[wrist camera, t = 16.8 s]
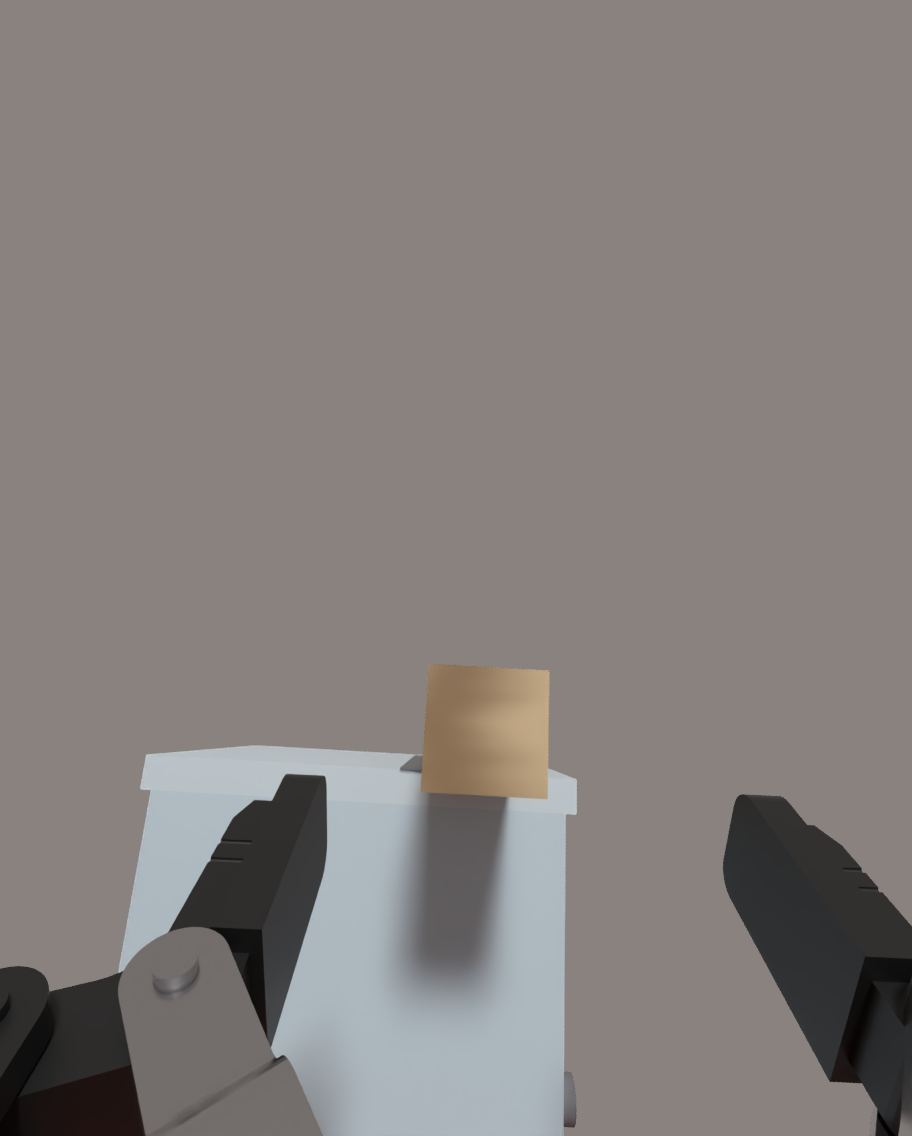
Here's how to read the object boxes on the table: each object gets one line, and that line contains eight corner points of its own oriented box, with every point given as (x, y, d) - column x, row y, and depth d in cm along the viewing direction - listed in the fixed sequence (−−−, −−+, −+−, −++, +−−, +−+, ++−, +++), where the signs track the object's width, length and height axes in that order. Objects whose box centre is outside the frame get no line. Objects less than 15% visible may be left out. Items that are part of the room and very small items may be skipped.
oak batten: (420, 792, 14) (429, 663, 15) (435, 754, 35) (438, 702, 36) (547, 799, 14) (549, 670, 15) (485, 757, 35) (487, 705, 36)
